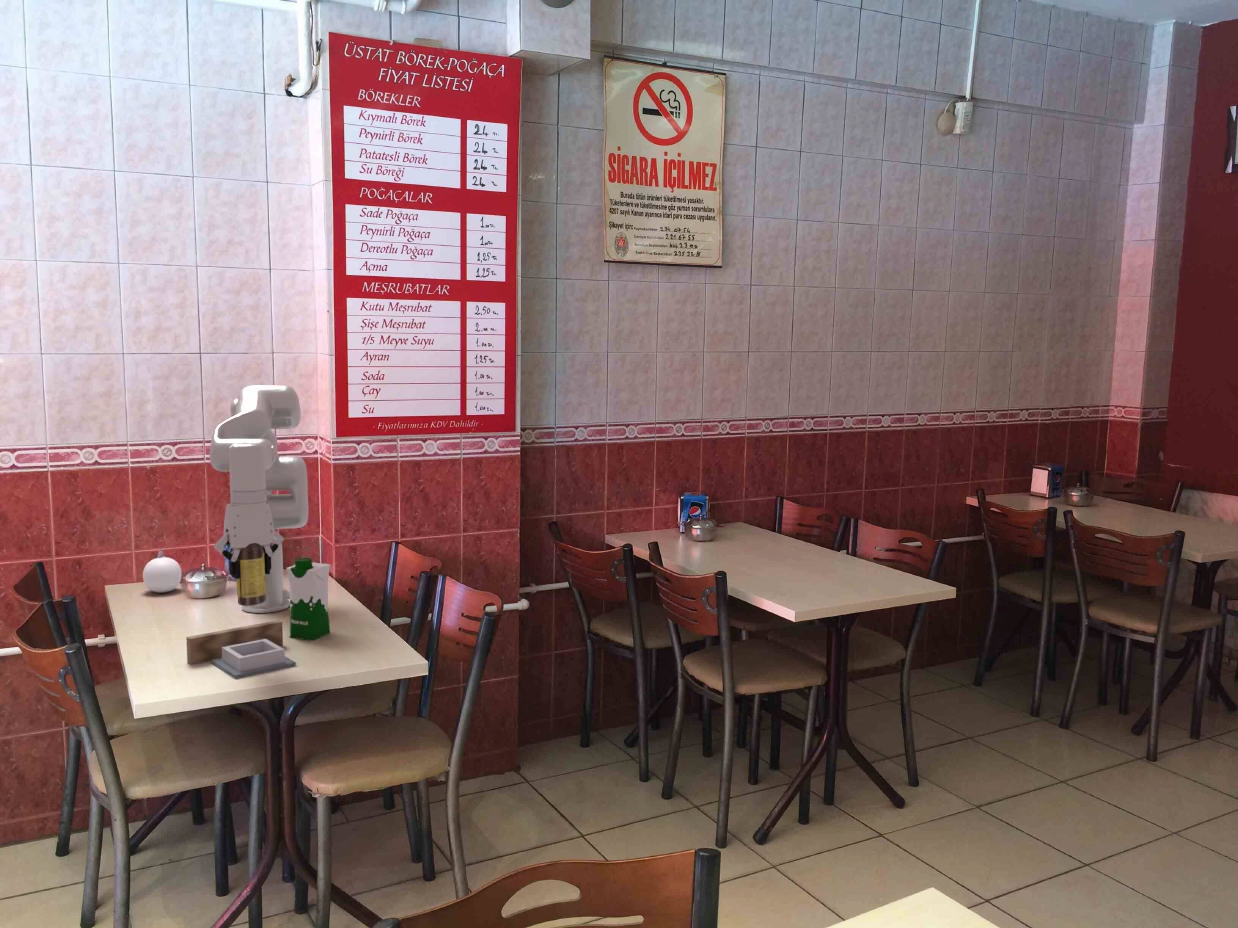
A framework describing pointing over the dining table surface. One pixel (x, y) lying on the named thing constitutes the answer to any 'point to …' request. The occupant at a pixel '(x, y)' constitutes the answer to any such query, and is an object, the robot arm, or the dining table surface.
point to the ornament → (162, 574)
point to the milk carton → (308, 599)
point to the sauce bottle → (251, 575)
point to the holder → (252, 658)
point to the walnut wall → (231, 640)
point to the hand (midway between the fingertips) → (250, 574)
